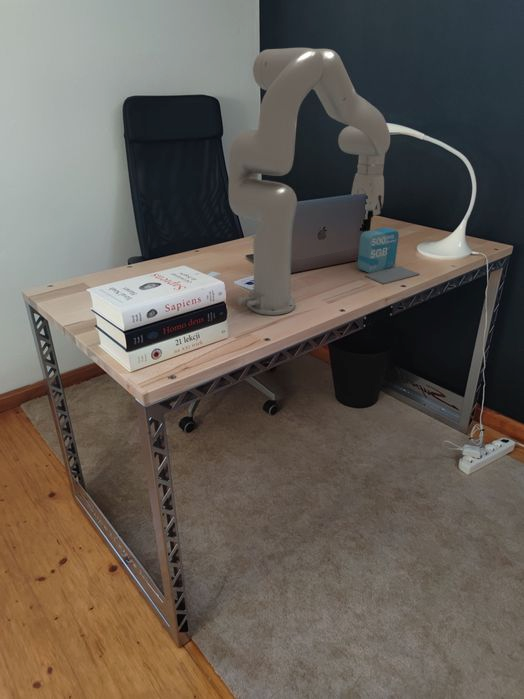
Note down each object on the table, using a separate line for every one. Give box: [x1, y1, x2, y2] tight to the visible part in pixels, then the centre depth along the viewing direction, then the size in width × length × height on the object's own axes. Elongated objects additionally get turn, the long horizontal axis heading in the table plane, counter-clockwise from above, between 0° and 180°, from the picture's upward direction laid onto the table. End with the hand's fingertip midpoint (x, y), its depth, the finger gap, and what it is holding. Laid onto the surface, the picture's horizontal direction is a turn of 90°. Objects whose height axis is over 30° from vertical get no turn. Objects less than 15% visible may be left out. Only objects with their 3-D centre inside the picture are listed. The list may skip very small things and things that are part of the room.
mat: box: [364, 266, 420, 286], centre depth 154 cm, size 15×8×1 cm, turn 122°
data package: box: [357, 227, 400, 274], centre depth 157 cm, size 12×4×12 cm, turn 122°
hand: (364, 230), depth 160 cm, fingers closed
